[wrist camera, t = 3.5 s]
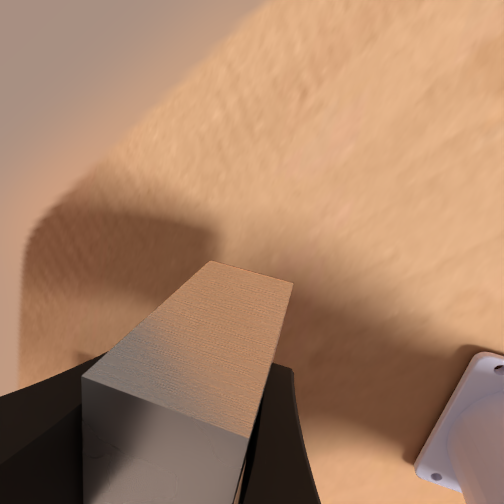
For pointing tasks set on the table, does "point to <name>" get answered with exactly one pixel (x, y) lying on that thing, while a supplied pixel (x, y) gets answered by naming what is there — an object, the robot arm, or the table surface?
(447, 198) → the table surface
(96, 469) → the wedge block
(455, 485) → the robot arm
